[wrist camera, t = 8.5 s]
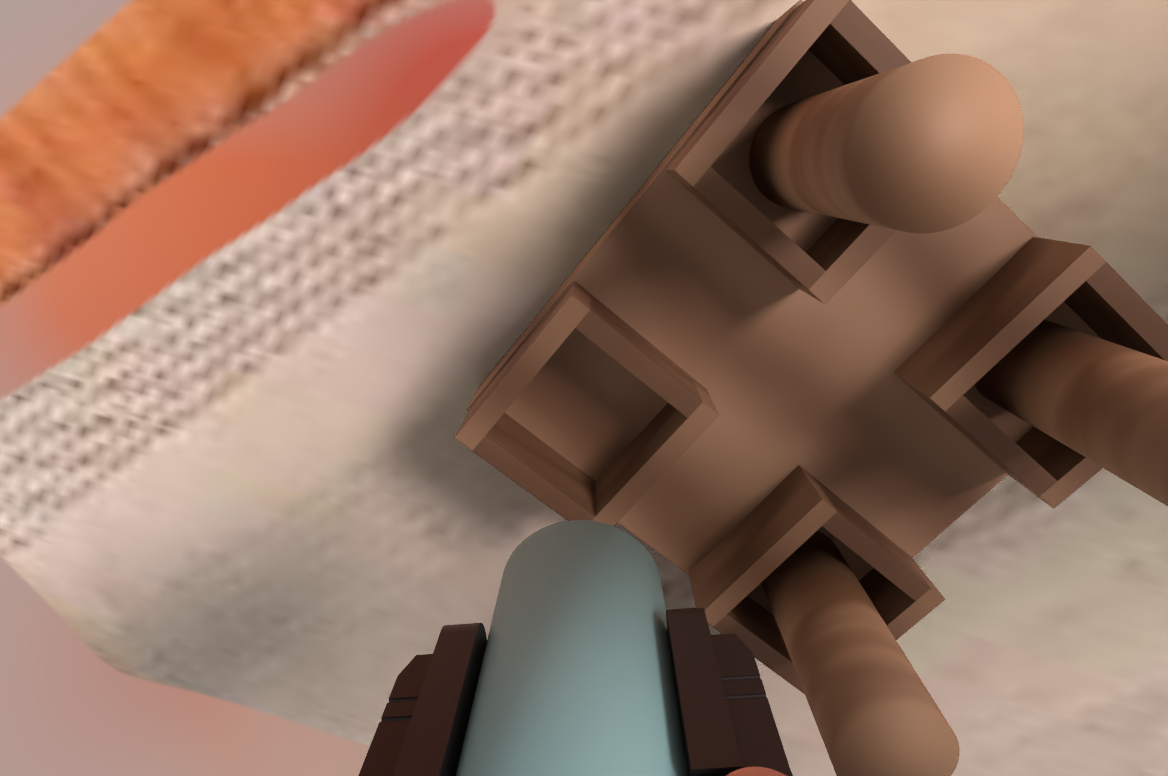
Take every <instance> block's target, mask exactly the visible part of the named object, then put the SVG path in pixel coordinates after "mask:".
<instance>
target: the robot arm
mask: <svg viewBox="0 0 1168 776" xmlns="http://www.w3.org/2000/svg"><path fill="white" fill-rule="evenodd" d="M666 624H667V633H668V640H669V647H670V653H671V660H672V666H673V673H674V680H675V686H676V693H677V700H678V706H679V713H680V720H681V726H682V733H683V740H684V746H685V753H686V760H687V766H688V773H689V776H793V775H792V772H791V770H790V768H789V764H788V761H787V758H786V755H785V752H784V749H783V746H782V743H781V739H780V736H779V733H778V730H777V727H776V724H775V721H774V718H773V715H772V711H771V708H770V705H769V702H768V699H767V698H766V693H765V690H764V686H763V683H762V680H761V679H760V674H759V671H758V668H757V665H756V661H755V658H754V655H753V652H752V651H751V650H750V649H749V648H748V647H747V646H746V645H745V644H744V642H743V641H742V640H741V639H740V638H739V637H738V636H737V635H736V634H735V633H734V634H720V635H710V631H709V627H708V622H707V618H706V614H705V610H704V608H703V607H701V608H687V609H673V610H666ZM486 645H487V638H486V632H485V628H484V626H483V624H482V623H473V624H459V625H445V626H443V628H442V630H441V632H440V635H439V638H438V641H437V644H436V647H435V650H434V653H433V654H427V655H416V656H415V657H414V658H413V660H412V661H411V662H410V663H409V664H408V665H407V666H406V667H405V668H404V670H403V671H402V672H401V673H400V674H399V675H398V677H397V679H396V682H395V685H394V687H393V690H392V692H391V695H390V697H389V703H387V705H386V707H385V710H384V712H383V715H382V721H381V722H380V723H379V725H378V728H377V730H376V733H375V735H374V738H373V740H372V743H371V745H370V748H369V750H368V753H367V756H366V758H365V761H364V763H363V766H362V768H361V771H360V774H359V776H456V772H457V768H458V764H459V759H460V755H461V751H462V747H463V742H464V738H465V734H466V730H467V725H468V721H469V717H470V713H471V708H472V704H473V700H474V696H475V691H476V687H477V683H478V679H479V674H480V670H481V666H482V662H483V657H484V653H485V649H486Z"/></svg>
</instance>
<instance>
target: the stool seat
mask: <svg viewBox="0 0 1168 776" xmlns="http://www.w3.org/2000/svg"><path fill="white" fill-rule="evenodd" d="M1022 141H1023V117H1022V112H1021V107H1020V103H1019V101H1018V98H1017V96H1016V93H1015V92H1014V90H1013V88H1012V86H1011V85H1010V83H1009V82H1008V81H1007V79H1006V78H1005V77H1004V76H1003V75H1002V74H1001V73H1000V72H999V71H998V70H997V69H996V68H994V67H993V66H991V65H989V64H988V63H986V62H984V61H982V60H980V59H977V58H974V57H971V56H967V55H960V54H941V55H936V56H930V57H927V58H924V59H921V60H918V61H915V62H912V63H911V62H910V61H909V60H908V59H907V58H906V56H905V55H904V54H903V53H902V52H901V51H900V50H899V49H898V48H897V47H896V46H895V45H894V44H893V43H892V42H891V41H890V40H889V39H888V38H887V37H886V36H885V35H884V34H883V33H882V32H881V31H880V30H879V29H878V28H877V27H876V26H875V25H874V24H873V23H872V22H871V21H870V20H869V19H868V18H867V17H866V16H865V15H864V14H863V12H862V11H861V10H860V9H859V8H858V7H857V6H856V5H855V4H854V3H853V2H852V1H851V0H806V1H804V2H803V1H802V0H800V1H799V2H797V3H796V4H795V5H794V6H793V7H791V8H790V9H789V10H788V11H787V12H785V13H784V14H783V15H782V16H781V17H779V18H778V19H777V20H776V22H775V23H774V24H773V25H772V27H771V28H770V29H769V30H768V32H767V33H766V34H765V35H764V36H763V38H762V39H761V40H760V41H759V43H758V44H757V45H756V46H755V48H754V49H753V50H752V51H751V52H750V54H749V55H748V56H747V57H746V59H745V60H744V61H743V62H742V64H741V65H740V66H739V67H738V68H737V70H736V71H735V72H734V73H733V75H732V76H731V77H730V78H729V80H728V81H727V82H726V83H725V84H724V86H723V87H722V88H721V89H720V91H719V92H718V93H717V94H716V96H715V97H714V98H713V99H712V100H711V102H710V103H709V104H708V105H707V107H706V108H705V109H704V110H703V112H702V113H701V114H700V115H699V117H698V118H697V119H696V120H695V121H694V123H693V124H692V125H691V126H690V128H689V129H688V130H687V131H686V133H685V134H684V135H683V136H682V137H681V139H680V140H679V141H678V142H677V144H676V145H675V146H674V147H673V149H672V150H671V151H670V152H669V153H668V155H667V156H666V157H665V158H664V160H663V161H662V162H661V163H660V165H659V166H658V167H657V168H656V169H655V171H654V172H653V173H652V174H651V176H650V177H649V178H648V179H647V181H646V182H645V183H644V184H643V186H642V187H641V188H640V189H639V190H638V192H637V193H636V194H635V195H634V197H633V198H632V199H631V200H630V202H629V203H628V204H627V205H626V206H625V208H624V209H623V210H622V211H621V213H620V214H619V215H618V216H617V218H616V219H615V220H614V221H613V222H612V224H611V225H610V226H609V227H608V229H607V230H606V231H605V232H604V234H603V235H602V236H601V237H600V238H599V240H598V241H597V242H596V243H595V245H594V246H593V247H592V248H591V250H590V251H589V252H588V253H587V254H586V256H585V257H584V258H583V259H582V261H581V262H580V263H579V264H578V266H577V267H576V268H575V269H574V271H573V272H572V273H571V274H570V275H569V277H568V278H567V279H566V280H565V282H564V283H563V284H562V285H561V287H560V288H559V289H558V290H557V291H556V293H555V294H554V295H553V296H552V298H551V299H550V300H549V301H548V303H547V304H546V305H545V306H544V307H543V309H542V310H541V311H540V312H539V314H538V315H537V316H536V317H535V319H534V320H533V321H532V322H531V323H530V325H529V326H528V327H527V328H526V330H525V331H524V332H523V333H522V335H521V336H520V337H519V338H518V340H517V341H516V342H515V343H514V344H513V346H512V347H511V348H510V349H509V351H508V352H507V353H506V354H505V356H504V357H503V358H502V359H501V360H500V362H499V363H498V364H497V365H496V367H495V368H494V369H493V370H492V372H491V373H490V374H489V375H488V376H487V378H486V379H485V380H484V381H483V383H482V384H481V385H480V386H479V388H478V390H477V392H476V393H475V395H474V397H473V399H472V401H471V403H470V404H469V406H468V408H467V410H468V411H469V412H468V414H467V416H466V418H465V420H464V422H463V423H462V425H461V427H460V429H459V431H458V433H457V435H456V436H455V439H457V440H458V441H460V442H461V443H462V444H464V445H465V446H466V447H468V448H469V449H471V450H472V451H473V452H475V453H476V454H477V455H479V456H480V457H481V458H483V459H484V460H486V461H487V462H488V463H490V464H491V465H492V466H494V467H495V468H496V469H498V470H499V471H501V472H502V473H503V474H505V475H506V476H507V477H509V478H510V479H512V480H513V481H514V482H516V483H517V484H518V485H520V486H521V487H522V488H524V489H525V490H527V491H528V492H529V493H531V494H532V495H533V496H535V497H536V498H537V499H539V500H540V501H542V502H543V503H544V504H546V505H547V506H548V507H550V508H551V509H553V510H554V511H555V512H557V513H558V514H559V515H561V516H562V517H563V518H565V519H566V520H568V521H572V520H588V521H596V522H601V523H606V524H608V525H611V526H615V525H616V523H617V522H618V523H619V524H621V525H622V526H623V527H625V528H626V529H627V530H629V531H630V532H631V533H633V534H634V535H636V536H637V537H638V538H640V539H641V540H642V541H644V542H645V543H646V544H648V545H649V546H650V547H652V548H653V549H654V550H656V551H657V552H658V553H660V554H661V555H662V556H664V557H665V558H666V559H668V560H669V561H670V562H672V563H673V564H674V565H676V566H677V567H678V568H680V569H681V570H683V571H684V572H685V573H687V574H688V575H689V576H690V581H691V585H692V590H693V594H694V599H695V603H696V608H701V607H703V608H704V610H705V614H706V618H707V622H708V624H710V625H711V626H712V627H714V628H715V629H716V630H718V631H719V632H721V633H722V634H734V633H735V634H736V635H737V636H738V637H739V638H740V639H741V640H742V641H743V642H744V644H745V645H746V646H747V647H748V648H749V649H750V650H751V651H752V652H753V655H754V657H755V658H756V659H757V660H759V661H760V662H762V663H763V664H764V665H766V666H767V667H768V668H770V669H771V670H772V671H774V672H775V673H777V674H778V675H779V676H781V677H782V678H783V679H785V680H786V681H788V682H789V683H790V684H792V685H793V686H794V687H796V688H797V689H798V690H800V691H801V692H803V693H804V694H805V695H806V698H807V701H808V703H809V706H810V708H811V711H812V713H813V716H814V718H815V721H816V724H817V726H818V729H819V731H820V734H821V736H822V739H823V741H824V744H825V747H826V749H827V752H828V754H829V757H830V759H831V762H832V764H833V767H834V770H835V772H836V775H837V776H951V775H952V773H953V772H954V770H955V768H956V766H957V763H958V759H959V743H958V740H957V737H956V736H955V734H954V732H953V730H952V729H951V727H950V726H949V724H948V722H947V721H946V719H945V718H944V716H943V714H942V713H941V711H940V710H939V708H938V707H937V705H936V703H935V702H934V700H933V699H932V697H931V695H930V694H929V692H928V691H927V689H926V687H925V686H924V684H923V683H922V681H921V679H920V678H919V676H918V675H917V673H916V672H915V670H914V668H913V667H912V665H911V664H910V662H909V660H908V659H907V657H906V656H905V654H904V652H903V651H902V649H901V648H900V646H899V645H898V643H897V641H896V640H897V639H898V638H899V637H901V636H902V635H903V634H904V633H905V632H907V631H908V630H909V629H910V628H911V627H913V626H914V625H915V624H916V623H917V622H919V621H920V620H921V619H922V618H923V617H925V616H926V615H927V614H928V613H929V612H931V611H932V610H933V609H934V608H935V607H937V606H938V605H939V604H940V603H941V602H943V601H944V600H945V598H944V597H943V596H942V595H941V593H940V592H939V591H938V590H937V588H936V587H935V586H934V585H933V583H932V582H931V581H930V580H929V579H928V577H927V576H926V575H925V574H924V572H923V571H922V570H921V569H920V567H919V566H918V565H917V564H916V562H915V561H914V560H913V559H912V558H913V557H914V556H915V555H916V554H917V553H918V552H919V551H921V550H922V549H923V548H924V547H925V546H926V545H928V544H929V543H930V542H931V541H932V540H933V539H934V538H936V537H937V536H938V535H939V534H940V533H941V532H942V531H944V530H945V529H946V528H947V527H948V526H949V525H951V524H952V523H953V522H954V521H955V520H956V519H957V518H959V517H960V516H961V515H962V514H963V513H964V512H965V511H967V510H968V509H969V508H970V507H971V506H972V505H974V504H975V503H976V502H977V501H978V500H979V499H980V498H982V497H983V496H984V495H985V494H986V493H987V492H988V491H990V490H991V489H992V488H993V487H994V486H995V485H997V484H998V483H999V482H1000V481H1001V480H1002V479H1003V478H1005V477H1006V476H1007V475H1010V476H1011V477H1012V478H1014V479H1015V480H1016V481H1018V482H1019V483H1020V484H1022V485H1023V486H1024V487H1026V488H1027V489H1028V490H1030V491H1031V492H1032V493H1034V494H1035V495H1036V496H1038V497H1039V498H1040V499H1042V500H1043V501H1044V502H1046V503H1047V504H1048V505H1050V506H1051V507H1052V508H1055V507H1056V506H1058V505H1059V504H1060V503H1061V502H1062V501H1064V500H1065V499H1066V498H1067V497H1068V496H1070V495H1071V494H1072V493H1073V492H1074V491H1076V490H1077V489H1078V488H1079V487H1080V486H1082V485H1083V484H1084V483H1085V482H1086V481H1088V480H1089V479H1090V478H1091V477H1092V476H1094V475H1095V474H1096V473H1097V472H1098V471H1100V470H1101V469H1102V468H1104V469H1106V470H1108V471H1110V472H1111V473H1113V474H1115V475H1116V476H1118V477H1120V478H1121V479H1123V480H1125V481H1126V482H1128V483H1130V484H1131V485H1133V486H1135V487H1136V488H1138V489H1140V490H1142V491H1143V492H1145V493H1147V494H1148V495H1150V496H1152V497H1153V498H1155V499H1157V500H1158V501H1160V502H1162V503H1163V504H1165V505H1167V506H1168V325H1167V324H1166V323H1165V322H1164V321H1163V320H1162V319H1161V318H1160V316H1159V315H1158V314H1157V313H1156V312H1155V311H1154V310H1153V309H1152V308H1151V307H1150V306H1149V305H1148V304H1147V303H1146V302H1145V301H1144V300H1143V299H1142V298H1141V297H1140V296H1139V295H1138V294H1137V293H1136V292H1135V291H1134V290H1133V289H1132V288H1131V287H1130V286H1129V285H1128V284H1127V283H1126V282H1125V281H1124V280H1123V279H1122V278H1121V277H1120V276H1119V275H1118V273H1117V272H1116V271H1115V270H1114V269H1113V268H1112V267H1111V266H1110V265H1109V264H1108V263H1107V262H1106V261H1105V260H1104V259H1103V258H1102V257H1101V256H1100V255H1099V254H1098V253H1097V252H1096V251H1095V250H1094V249H1093V248H1092V247H1091V246H1087V245H1081V244H1074V243H1068V242H1062V241H1055V240H1049V239H1043V238H1038V237H1037V236H1036V235H1035V234H1034V233H1033V232H1032V231H1031V230H1030V229H1029V228H1028V227H1027V226H1026V225H1025V224H1024V223H1023V222H1022V221H1021V220H1020V219H1019V218H1018V217H1017V216H1016V215H1015V214H1014V213H1013V212H1012V211H1011V210H1010V209H1009V208H1008V207H1007V206H1006V205H1005V204H1004V203H1003V202H1002V201H1001V200H1000V199H999V198H998V197H997V196H998V195H999V194H1000V193H1001V191H1002V190H1003V189H1004V187H1005V186H1006V184H1007V183H1008V181H1009V179H1010V177H1011V175H1012V174H1013V171H1014V169H1015V167H1016V164H1017V162H1018V159H1019V155H1020V152H1021V147H1022Z"/></svg>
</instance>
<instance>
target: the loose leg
mask: <svg viewBox="0 0 1168 776" xmlns="http://www.w3.org/2000/svg"><path fill="white" fill-rule="evenodd" d="M456 776H689V773H688V766H687V760H686V753H685V746H684V740H683V733H682V726H681V720H680V713H679V706H678V700H677V693H676V686H675V680H674V673H673V666H672V660H671V653H670V647H669V640H668V633H667V624H666V609H665V602H664V596H663V589H662V583H661V576H660V573H659V570H658V567H657V565H656V563H655V561H654V559H653V557H652V556H651V554H650V553H649V551H648V550H647V549H646V548H645V547H644V546H643V545H642V544H641V543H640V542H639V541H638V540H637V539H635V538H634V537H633V536H631V535H630V534H628V533H627V532H625V531H623V530H621V529H619V528H617V527H614V526H611V525H608V524H606V523H601V522H596V521H588V520H572V521H565V522H560V523H556V524H552V525H550V526H547V527H545V528H542V529H540V530H538V531H537V532H535V533H533V534H532V535H530V536H529V537H528V538H526V539H525V540H524V541H523V542H522V543H521V544H520V545H519V546H518V547H517V548H516V549H515V550H514V552H513V553H512V555H511V556H510V558H509V560H508V561H507V564H506V566H505V569H504V572H503V576H502V581H501V585H500V589H499V594H498V598H497V602H496V606H495V611H494V615H493V619H492V623H491V628H490V632H489V636H488V640H487V645H486V649H485V653H484V657H483V662H482V666H481V670H480V674H479V679H478V683H477V687H476V691H475V696H474V700H473V704H472V708H471V713H470V717H469V721H468V725H467V730H466V734H465V738H464V742H463V747H462V751H461V755H460V759H459V764H458V768H457V772H456Z"/></svg>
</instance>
